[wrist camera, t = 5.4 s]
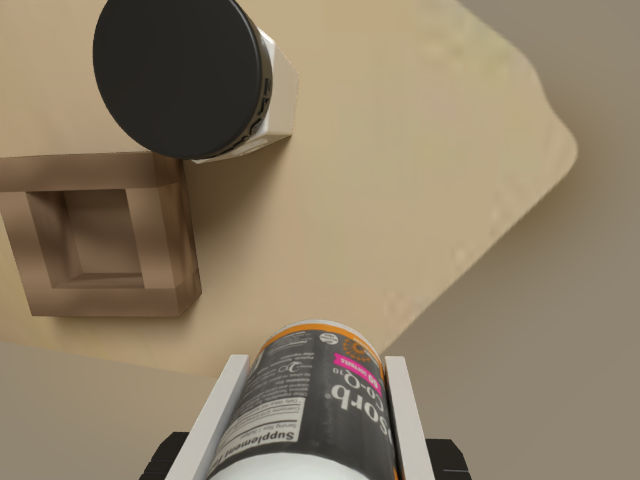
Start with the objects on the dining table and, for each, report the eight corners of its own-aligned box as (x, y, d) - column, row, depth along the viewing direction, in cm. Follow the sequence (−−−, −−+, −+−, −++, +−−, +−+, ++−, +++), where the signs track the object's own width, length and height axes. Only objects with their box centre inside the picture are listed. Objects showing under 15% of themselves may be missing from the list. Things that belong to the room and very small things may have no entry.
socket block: (36, 155, 30) (-16, 158, 26) (181, 150, 29) (151, 152, 25) (72, 293, 34) (32, 316, 29) (201, 292, 33) (179, 316, 28)
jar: (220, 168, 29) (138, 188, 18) (175, 70, 27) (49, 22, 16) (319, 125, 28) (298, 118, 16) (277, 18, 26) (221, -77, 14)
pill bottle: (408, 387, 15) (505, 787, 6) (304, 440, 17) (248, 839, 7) (334, 289, 14) (309, 587, 5) (230, 353, 16) (48, 689, 6)
